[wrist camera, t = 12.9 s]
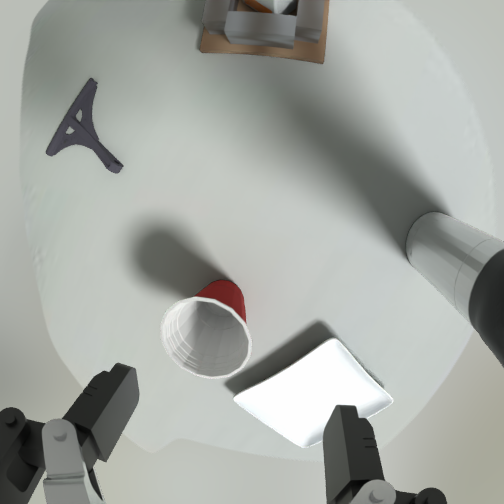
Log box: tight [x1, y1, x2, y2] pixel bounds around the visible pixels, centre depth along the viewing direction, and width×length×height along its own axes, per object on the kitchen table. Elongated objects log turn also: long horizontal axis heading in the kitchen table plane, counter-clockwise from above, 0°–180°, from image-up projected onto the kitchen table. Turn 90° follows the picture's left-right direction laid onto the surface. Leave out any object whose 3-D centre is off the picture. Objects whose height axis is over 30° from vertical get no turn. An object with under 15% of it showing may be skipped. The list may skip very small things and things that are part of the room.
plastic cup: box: [160, 280, 252, 379], centre depth 37 cm, size 11×11×12 cm
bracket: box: [46, 78, 123, 173], centre depth 36 cm, size 14×15×3 cm
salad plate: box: [233, 338, 393, 448], centre depth 46 cm, size 21×21×3 cm
